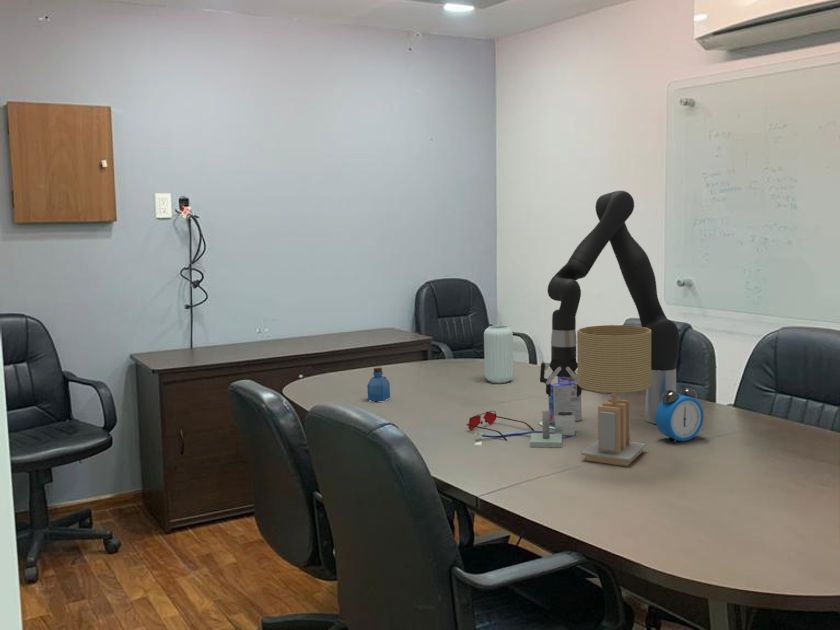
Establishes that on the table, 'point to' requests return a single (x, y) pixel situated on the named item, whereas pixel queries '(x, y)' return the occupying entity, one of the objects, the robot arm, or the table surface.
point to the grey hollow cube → (565, 423)
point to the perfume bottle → (378, 386)
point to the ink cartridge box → (564, 398)
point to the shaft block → (546, 435)
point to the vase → (498, 354)
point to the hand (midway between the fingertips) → (563, 396)
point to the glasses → (490, 419)
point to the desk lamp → (614, 384)
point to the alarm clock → (679, 414)
